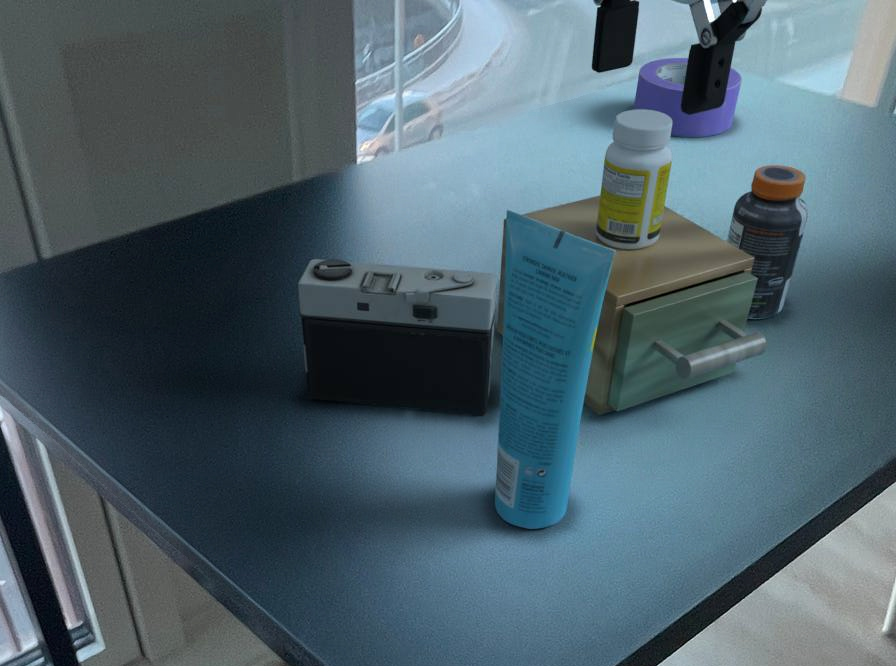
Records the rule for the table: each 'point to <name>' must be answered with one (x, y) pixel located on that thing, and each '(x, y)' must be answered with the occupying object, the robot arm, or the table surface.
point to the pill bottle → (770, 233)
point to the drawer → (683, 339)
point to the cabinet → (636, 276)
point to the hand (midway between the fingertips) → (654, 88)
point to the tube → (544, 365)
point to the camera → (398, 335)
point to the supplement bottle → (635, 180)
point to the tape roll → (664, 95)
